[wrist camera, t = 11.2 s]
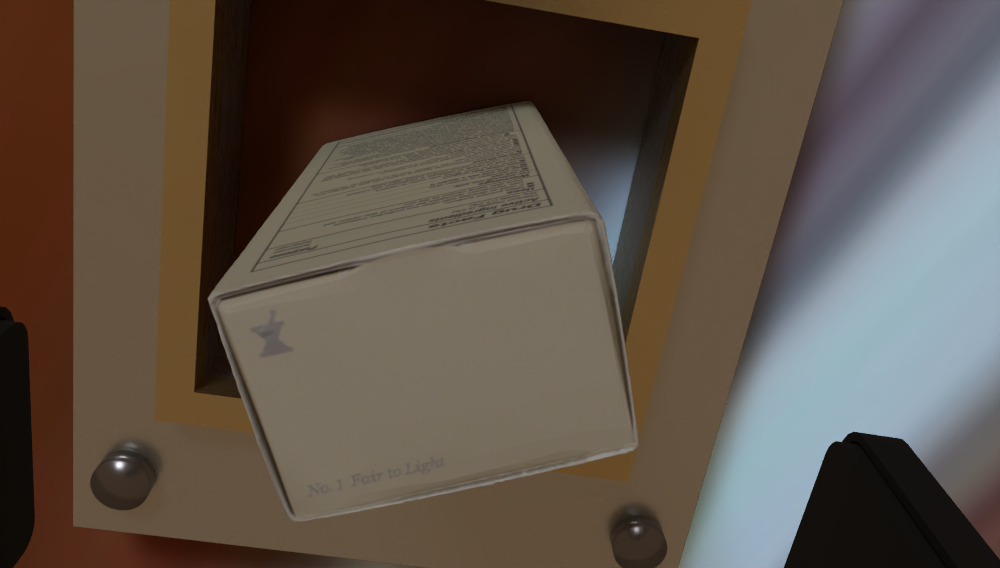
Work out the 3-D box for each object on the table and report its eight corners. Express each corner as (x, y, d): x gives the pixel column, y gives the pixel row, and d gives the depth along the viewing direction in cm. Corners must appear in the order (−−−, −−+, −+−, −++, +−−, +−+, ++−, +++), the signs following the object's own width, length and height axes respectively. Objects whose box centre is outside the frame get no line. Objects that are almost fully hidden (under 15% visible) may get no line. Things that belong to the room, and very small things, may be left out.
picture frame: (853, -175, 22) (920, -197, 19) (653, 545, 30) (676, 619, 26) (119, -323, 20) (52, -376, 17) (106, 478, 28) (58, 547, 25)
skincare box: (359, 281, 26) (275, 538, 15) (318, 135, 24) (187, 295, 13) (569, 238, 26) (648, 465, 14) (540, 87, 24) (603, 208, 13)
